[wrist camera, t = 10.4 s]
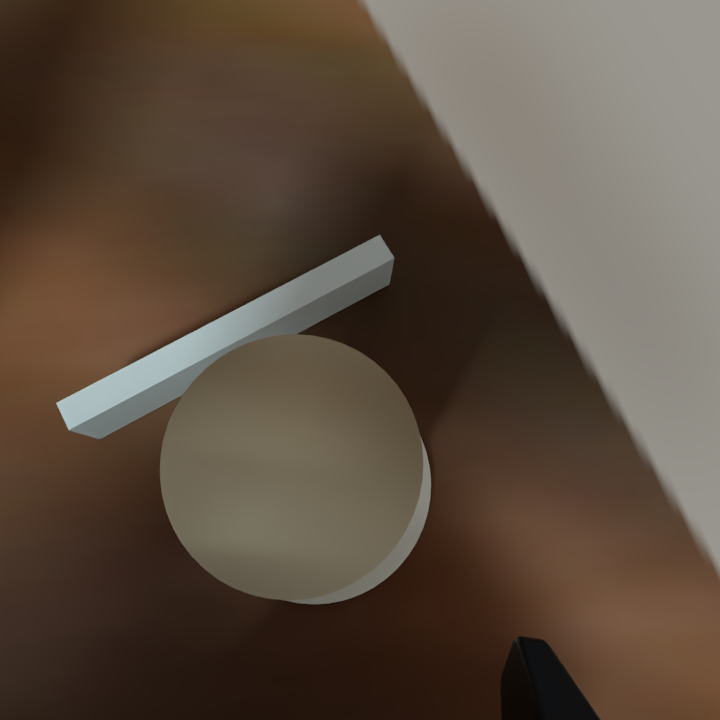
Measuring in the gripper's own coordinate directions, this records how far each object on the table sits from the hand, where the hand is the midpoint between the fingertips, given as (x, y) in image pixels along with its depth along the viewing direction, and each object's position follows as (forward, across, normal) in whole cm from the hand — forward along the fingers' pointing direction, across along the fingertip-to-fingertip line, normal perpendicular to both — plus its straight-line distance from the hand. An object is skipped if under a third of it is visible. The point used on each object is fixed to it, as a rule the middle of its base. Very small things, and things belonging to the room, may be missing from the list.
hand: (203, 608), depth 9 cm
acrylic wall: (+14, +3, +3) cm, 15 cm away
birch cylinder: (+11, -1, +6) cm, 13 cm away
